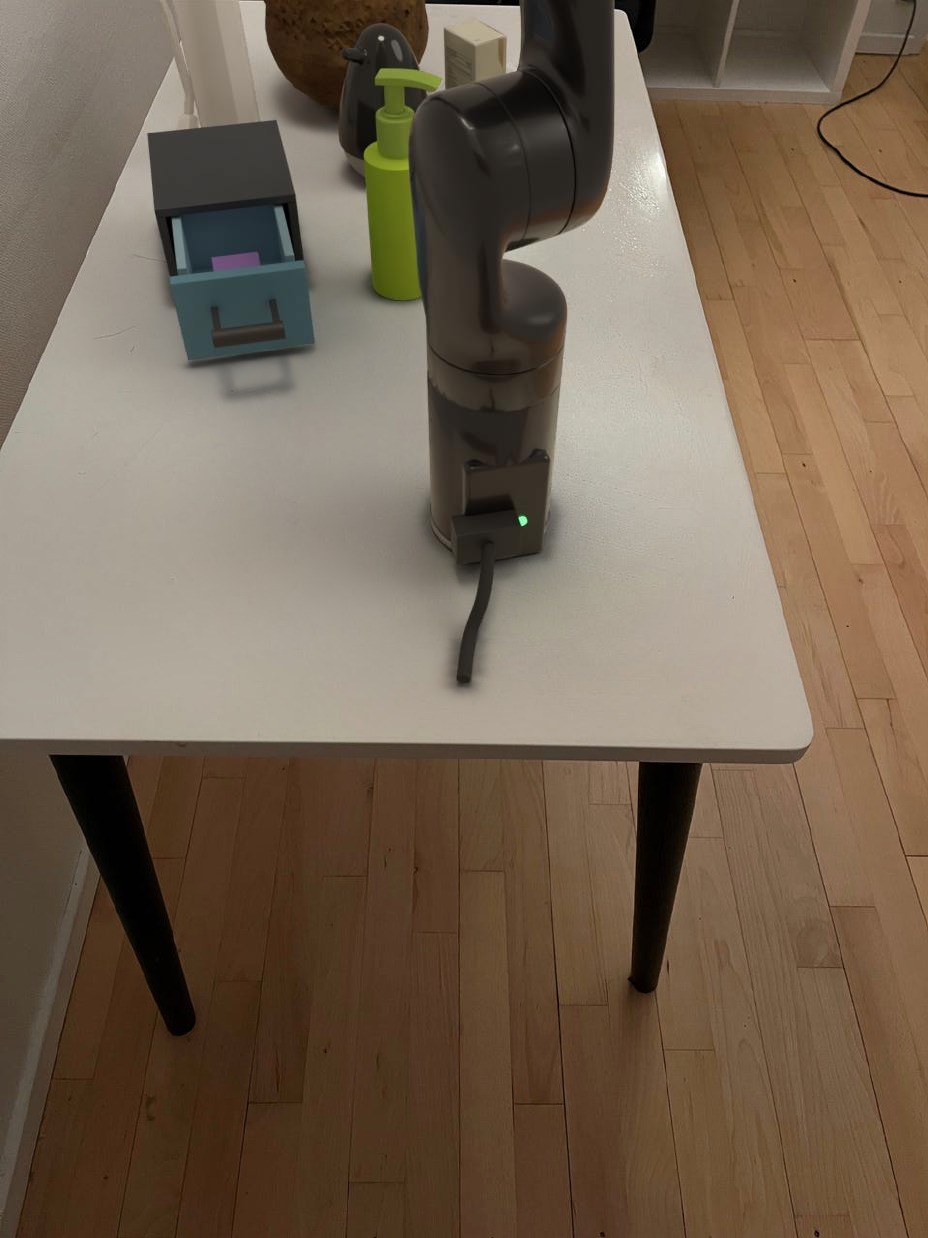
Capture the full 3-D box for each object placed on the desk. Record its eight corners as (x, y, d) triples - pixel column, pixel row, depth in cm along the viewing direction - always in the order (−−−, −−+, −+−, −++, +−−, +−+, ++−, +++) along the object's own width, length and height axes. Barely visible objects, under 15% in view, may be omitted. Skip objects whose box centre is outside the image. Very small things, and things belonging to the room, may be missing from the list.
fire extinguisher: (171, 148, 120) (116, -108, 101) (277, 137, 122) (243, -117, 103) (174, 177, 116) (118, -84, 97) (284, 165, 118) (250, -93, 99)
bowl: (382, 53, 137) (375, -79, 125) (458, 111, 127) (458, -27, 115) (248, 87, 130) (228, -49, 119) (317, 151, 120) (302, 9, 109)
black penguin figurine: (321, 172, 117) (306, 25, 105) (388, 139, 122) (381, -5, 110) (385, 205, 113) (377, 56, 101) (452, 169, 118) (452, 23, 106)
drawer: (323, 377, 93) (313, 300, 87) (191, 395, 91) (173, 318, 85) (296, 262, 104) (286, 187, 98) (178, 277, 103) (161, 201, 97)
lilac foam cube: (269, 317, 97) (263, 276, 93) (223, 323, 96) (215, 282, 93) (264, 291, 99) (257, 251, 96) (219, 297, 99) (211, 256, 95)
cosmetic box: (506, 149, 121) (510, 36, 111) (475, 160, 119) (476, 45, 110) (474, 127, 124) (475, 15, 115) (443, 137, 122) (442, 24, 113)
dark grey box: (307, 286, 103) (295, 193, 96) (176, 303, 101) (154, 209, 94) (288, 209, 112) (276, 119, 105) (167, 223, 110) (147, 132, 103)
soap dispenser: (435, 305, 101) (432, 92, 86) (366, 296, 102) (349, 84, 87) (448, 271, 105) (447, 61, 90) (381, 263, 106) (368, 54, 90)
